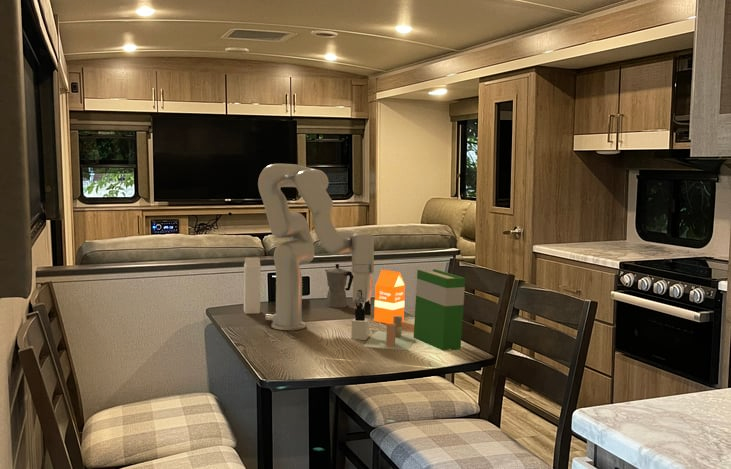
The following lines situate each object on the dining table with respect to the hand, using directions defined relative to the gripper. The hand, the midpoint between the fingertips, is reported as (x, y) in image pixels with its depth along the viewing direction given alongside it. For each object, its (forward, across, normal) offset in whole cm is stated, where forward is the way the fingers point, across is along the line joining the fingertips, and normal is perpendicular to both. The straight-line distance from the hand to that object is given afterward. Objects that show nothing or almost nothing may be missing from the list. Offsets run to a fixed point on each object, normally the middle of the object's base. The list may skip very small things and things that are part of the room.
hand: (363, 317), depth 235 cm
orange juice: (+8, -28, +4) cm, 30 cm away
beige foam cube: (+7, 0, -1) cm, 8 cm away
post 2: (+7, -6, +11) cm, 15 cm away
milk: (+6, -27, -52) cm, 59 cm away
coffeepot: (+6, -50, -22) cm, 55 cm away
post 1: (+7, +7, +11) cm, 15 cm away
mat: (+8, 0, +10) cm, 13 cm away
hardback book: (+8, -2, +25) cm, 27 cm away
